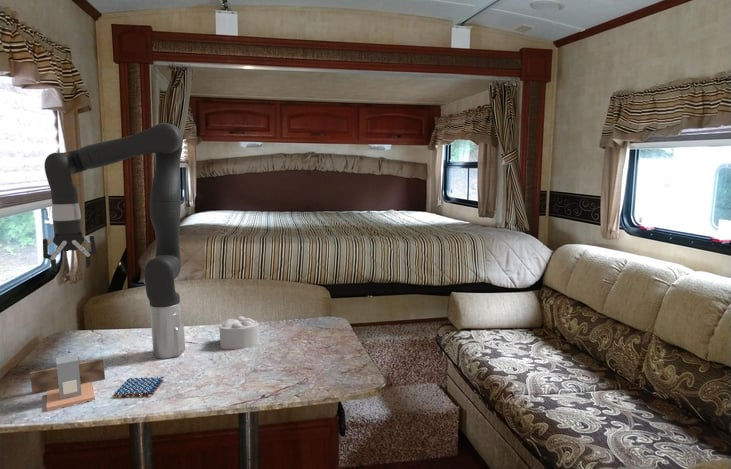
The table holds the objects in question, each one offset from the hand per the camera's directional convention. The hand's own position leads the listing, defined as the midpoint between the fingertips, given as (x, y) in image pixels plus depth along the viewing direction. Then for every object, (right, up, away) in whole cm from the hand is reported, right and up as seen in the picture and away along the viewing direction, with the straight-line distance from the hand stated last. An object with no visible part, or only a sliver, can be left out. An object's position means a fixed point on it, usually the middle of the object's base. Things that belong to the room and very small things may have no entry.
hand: (71, 269), depth 158 cm
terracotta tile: (+11, -34, -20) cm, 41 cm away
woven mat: (+28, -33, -15) cm, 46 cm away
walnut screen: (+7, -32, -13) cm, 36 cm away
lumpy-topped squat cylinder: (+48, -28, +20) cm, 59 cm away
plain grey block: (+11, -33, -20) cm, 40 cm away
